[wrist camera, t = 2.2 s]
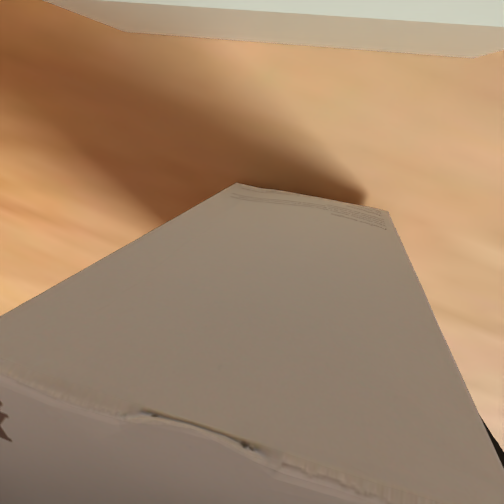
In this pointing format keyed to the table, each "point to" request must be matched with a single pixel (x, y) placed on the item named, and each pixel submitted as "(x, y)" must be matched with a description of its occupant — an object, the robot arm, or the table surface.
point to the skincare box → (241, 369)
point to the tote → (315, 22)
